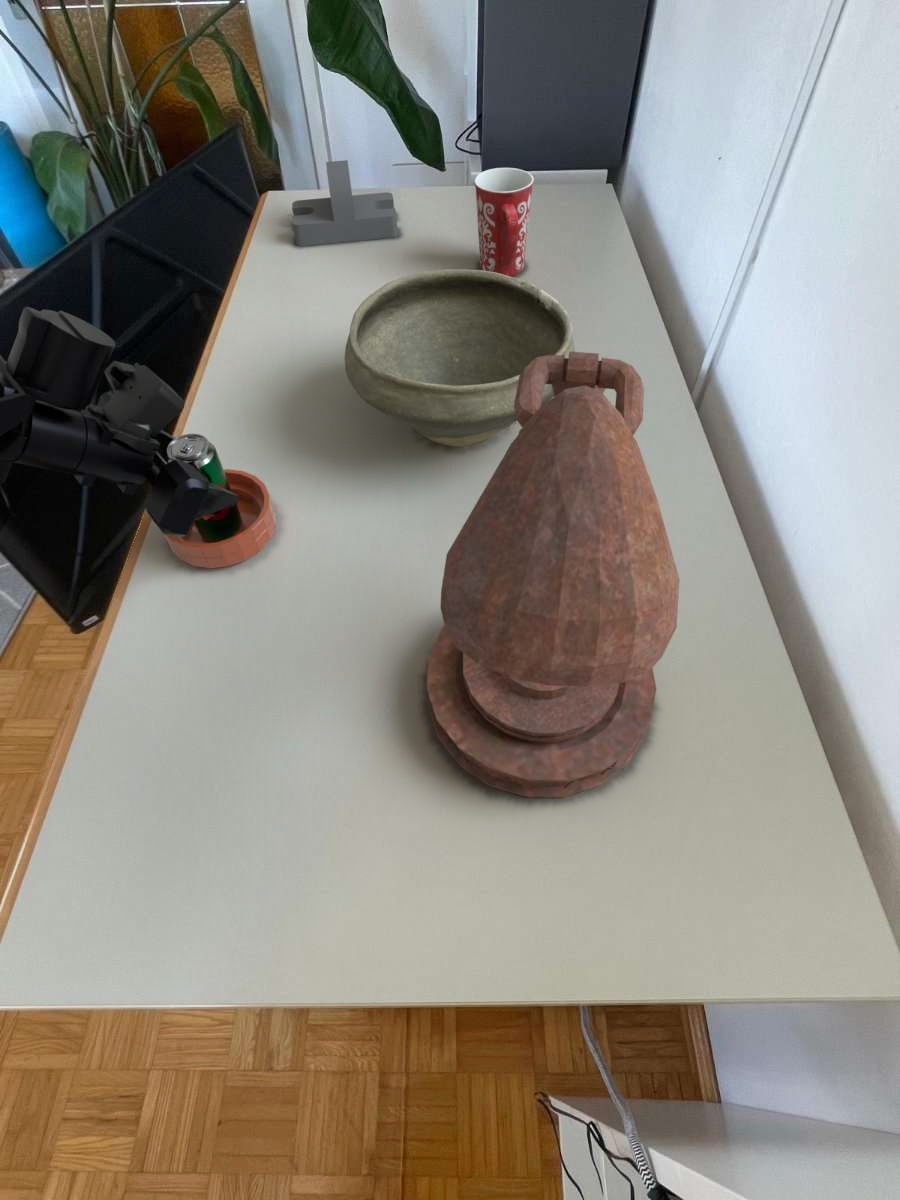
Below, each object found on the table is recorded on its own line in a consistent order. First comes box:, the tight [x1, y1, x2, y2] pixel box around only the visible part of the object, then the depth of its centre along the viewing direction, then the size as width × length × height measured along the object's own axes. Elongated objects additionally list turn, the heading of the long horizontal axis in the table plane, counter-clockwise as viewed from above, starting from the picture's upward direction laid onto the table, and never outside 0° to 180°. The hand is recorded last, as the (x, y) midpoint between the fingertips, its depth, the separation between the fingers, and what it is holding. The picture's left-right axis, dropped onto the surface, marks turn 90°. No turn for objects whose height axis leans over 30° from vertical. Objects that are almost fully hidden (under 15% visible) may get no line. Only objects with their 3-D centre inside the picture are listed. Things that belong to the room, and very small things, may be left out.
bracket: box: [291, 159, 399, 247], centre depth 121 cm, size 10×18×11 cm, turn 98°
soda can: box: [166, 433, 242, 541], centre depth 76 cm, size 5×5×12 cm
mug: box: [473, 167, 535, 277], centre depth 109 cm, size 13×9×14 cm
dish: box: [162, 468, 277, 569], centre depth 79 cm, size 12×12×4 cm
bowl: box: [344, 268, 576, 448], centre depth 87 cm, size 28×28×14 cm
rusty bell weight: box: [426, 351, 680, 798], centre depth 50 cm, size 21×32×40 cm, turn 170°
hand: (216, 477), depth 76 cm, fingers open, 9 cm apart
